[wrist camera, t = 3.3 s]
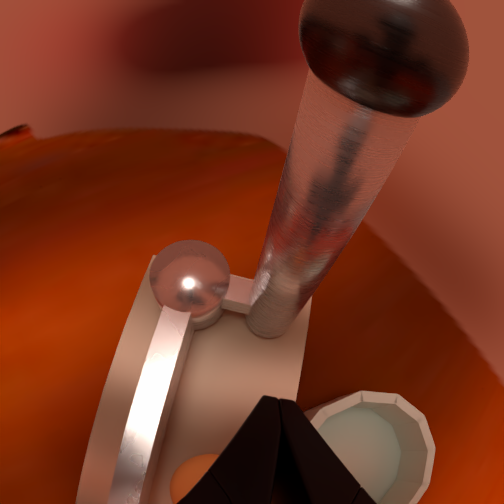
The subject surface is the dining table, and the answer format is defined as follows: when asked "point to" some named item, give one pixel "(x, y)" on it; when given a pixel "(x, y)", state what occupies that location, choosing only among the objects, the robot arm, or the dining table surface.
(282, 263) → the lever
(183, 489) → the ball
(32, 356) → the dining table surface
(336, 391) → the dining table surface
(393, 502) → the small white bowl
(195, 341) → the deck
